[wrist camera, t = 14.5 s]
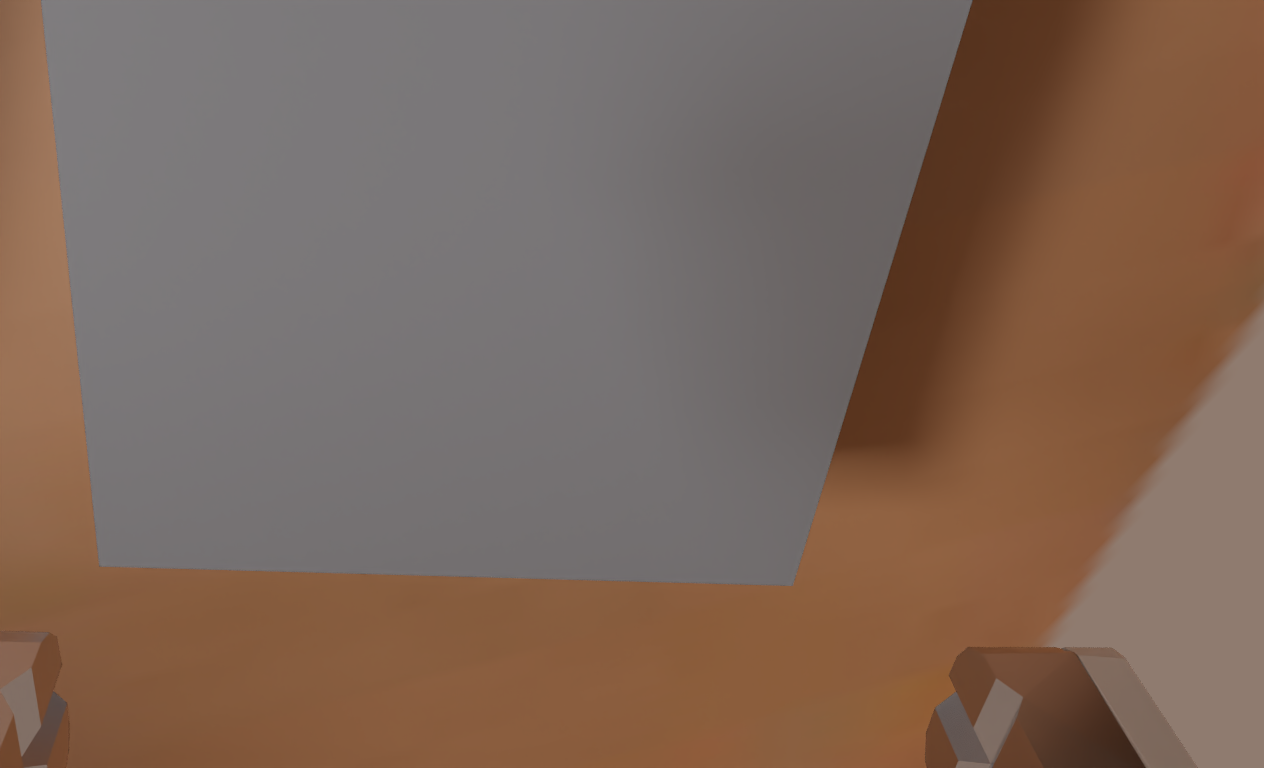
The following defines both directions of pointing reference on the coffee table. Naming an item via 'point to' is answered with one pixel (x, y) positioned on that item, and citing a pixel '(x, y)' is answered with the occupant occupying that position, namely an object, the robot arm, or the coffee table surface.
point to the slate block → (480, 274)
